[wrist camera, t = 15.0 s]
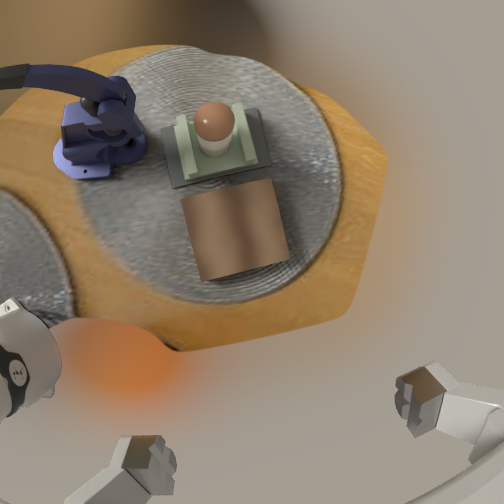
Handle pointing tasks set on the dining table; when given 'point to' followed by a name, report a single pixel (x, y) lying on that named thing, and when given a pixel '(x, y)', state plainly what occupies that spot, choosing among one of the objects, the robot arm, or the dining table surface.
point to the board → (235, 229)
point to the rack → (202, 165)
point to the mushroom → (214, 128)
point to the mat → (179, 178)
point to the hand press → (87, 118)
